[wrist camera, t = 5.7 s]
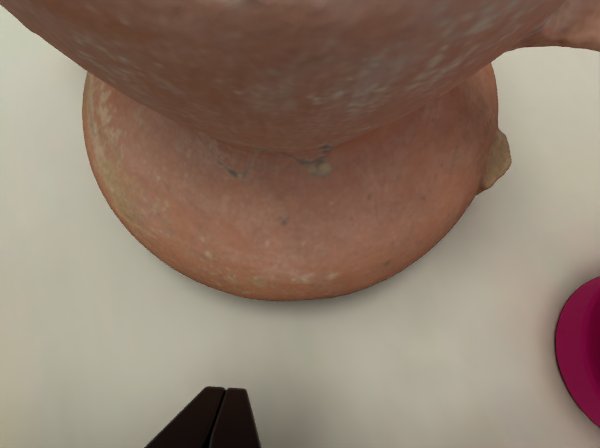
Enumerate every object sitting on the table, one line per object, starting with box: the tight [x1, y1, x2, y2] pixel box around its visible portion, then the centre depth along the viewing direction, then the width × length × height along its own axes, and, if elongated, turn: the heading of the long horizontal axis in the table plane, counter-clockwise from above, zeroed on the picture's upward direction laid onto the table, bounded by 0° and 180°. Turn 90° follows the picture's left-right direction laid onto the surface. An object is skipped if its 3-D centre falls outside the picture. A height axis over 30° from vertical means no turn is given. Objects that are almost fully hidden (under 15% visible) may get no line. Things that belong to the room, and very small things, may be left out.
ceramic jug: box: [0, 0, 600, 301], centre depth 12 cm, size 18×14×14 cm
